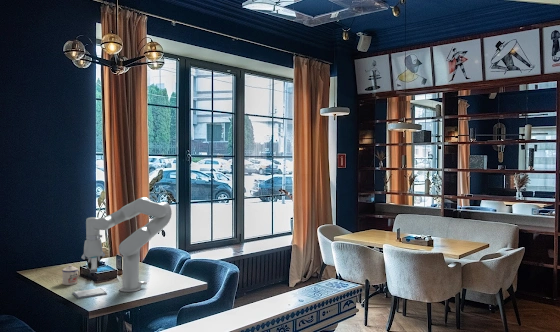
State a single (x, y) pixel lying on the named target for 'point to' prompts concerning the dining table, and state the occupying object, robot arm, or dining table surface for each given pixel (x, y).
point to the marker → (93, 264)
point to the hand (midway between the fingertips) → (93, 267)
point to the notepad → (89, 293)
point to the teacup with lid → (70, 275)
